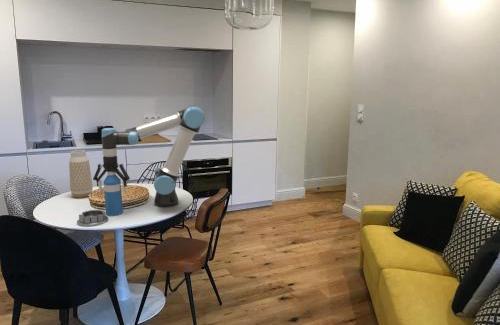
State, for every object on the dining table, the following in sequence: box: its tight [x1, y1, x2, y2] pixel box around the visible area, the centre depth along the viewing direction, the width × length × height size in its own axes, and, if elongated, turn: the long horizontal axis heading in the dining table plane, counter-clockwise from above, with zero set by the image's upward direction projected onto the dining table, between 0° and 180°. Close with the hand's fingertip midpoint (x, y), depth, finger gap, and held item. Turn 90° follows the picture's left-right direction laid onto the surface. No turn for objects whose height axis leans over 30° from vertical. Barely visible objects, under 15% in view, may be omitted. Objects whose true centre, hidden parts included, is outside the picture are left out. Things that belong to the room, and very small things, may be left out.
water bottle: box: [103, 172, 124, 217], centre depth 229 cm, size 9×9×25 cm
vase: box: [68, 149, 94, 199], centre depth 265 cm, size 14×14×31 cm
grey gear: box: [76, 209, 109, 228], centre depth 217 cm, size 16×16×5 cm
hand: (112, 192), depth 229 cm, fingers open, 13 cm apart
